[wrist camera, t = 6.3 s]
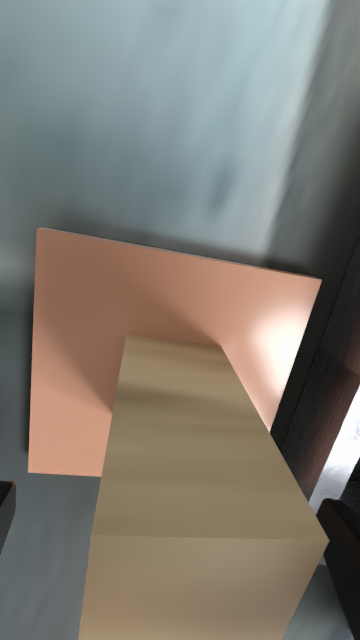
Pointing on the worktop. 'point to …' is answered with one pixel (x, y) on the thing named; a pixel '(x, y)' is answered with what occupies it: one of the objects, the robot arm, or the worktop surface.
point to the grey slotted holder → (331, 407)
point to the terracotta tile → (145, 332)
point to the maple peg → (194, 508)
